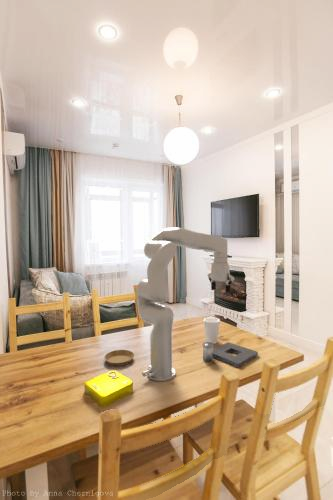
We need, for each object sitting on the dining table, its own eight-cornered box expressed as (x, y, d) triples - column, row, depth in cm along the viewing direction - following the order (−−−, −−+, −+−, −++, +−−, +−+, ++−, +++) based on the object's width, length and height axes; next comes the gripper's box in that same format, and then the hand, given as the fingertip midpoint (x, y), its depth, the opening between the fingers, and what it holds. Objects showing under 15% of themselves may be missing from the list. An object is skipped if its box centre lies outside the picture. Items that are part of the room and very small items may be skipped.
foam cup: (221, 344, 150) (221, 322, 150) (204, 344, 151) (204, 322, 150) (218, 338, 160) (218, 317, 159) (202, 338, 160) (202, 317, 159)
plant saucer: (118, 352, 143) (118, 347, 143) (140, 358, 136) (139, 353, 135) (98, 363, 130) (97, 358, 130) (121, 371, 123) (120, 365, 123)
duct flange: (238, 367, 124) (238, 363, 124) (208, 355, 137) (208, 351, 137) (257, 355, 136) (257, 351, 136) (228, 345, 149) (228, 342, 149)
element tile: (82, 392, 106) (82, 381, 106) (114, 378, 117) (114, 367, 117) (102, 409, 96) (101, 396, 95) (135, 392, 106) (134, 380, 106)
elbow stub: (209, 363, 128) (209, 347, 128) (200, 359, 132) (200, 344, 132) (215, 360, 132) (215, 344, 132) (207, 356, 136) (207, 341, 136)
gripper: (204, 260, 151) (204, 289, 152) (230, 261, 138) (230, 294, 139) (212, 259, 156) (212, 287, 157) (237, 260, 143) (237, 292, 144)
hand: (220, 290), depth 148 cm, fingers open, 9 cm apart
